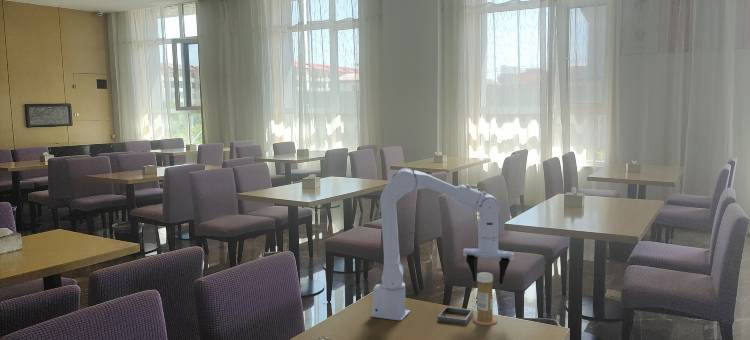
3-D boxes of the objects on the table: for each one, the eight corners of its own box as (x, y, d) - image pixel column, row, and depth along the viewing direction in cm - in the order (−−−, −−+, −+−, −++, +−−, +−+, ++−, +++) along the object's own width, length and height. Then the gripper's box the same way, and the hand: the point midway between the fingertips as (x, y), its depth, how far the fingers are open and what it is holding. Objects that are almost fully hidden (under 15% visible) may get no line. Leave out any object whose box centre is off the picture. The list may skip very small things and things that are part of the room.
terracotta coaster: (470, 323, 165) (470, 321, 165) (475, 314, 171) (475, 313, 171) (494, 326, 162) (494, 324, 162) (499, 318, 168) (499, 316, 168)
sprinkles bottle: (496, 319, 166) (496, 274, 164) (484, 323, 163) (484, 277, 162) (484, 315, 169) (485, 270, 168) (473, 318, 167) (473, 273, 165)
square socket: (437, 321, 167) (437, 316, 166) (445, 311, 174) (445, 306, 174) (466, 325, 163) (466, 320, 163) (473, 314, 171) (473, 310, 171)
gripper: (460, 237, 167) (460, 283, 168) (511, 241, 161) (510, 288, 162) (466, 232, 173) (466, 276, 175) (515, 235, 167) (515, 281, 169)
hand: (488, 281), depth 169 cm, fingers open, 7 cm apart
